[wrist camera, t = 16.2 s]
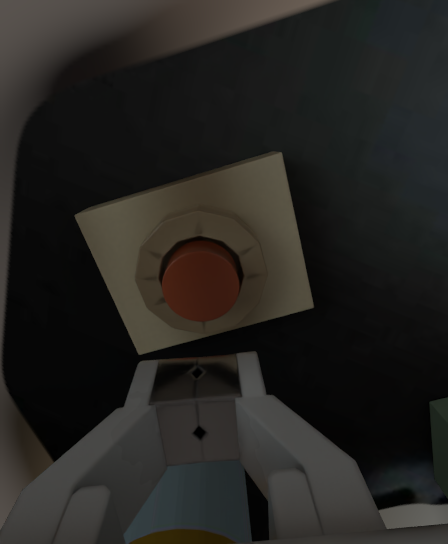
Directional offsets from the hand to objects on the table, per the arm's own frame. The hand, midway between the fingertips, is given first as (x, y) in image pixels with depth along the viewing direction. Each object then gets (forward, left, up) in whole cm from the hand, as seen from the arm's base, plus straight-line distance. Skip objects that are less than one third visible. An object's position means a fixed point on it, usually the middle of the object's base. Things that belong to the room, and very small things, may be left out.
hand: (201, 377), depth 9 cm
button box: (0, -1, -12) cm, 12 cm away
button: (0, 0, -9) cm, 9 cm away
